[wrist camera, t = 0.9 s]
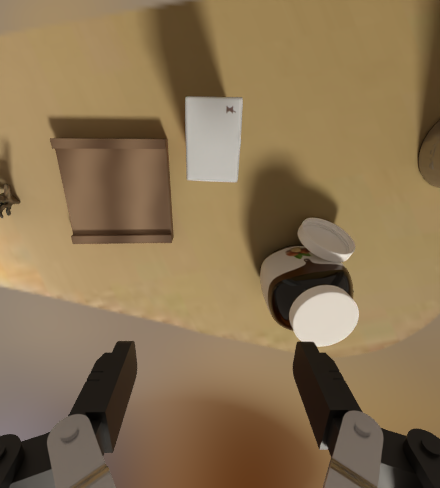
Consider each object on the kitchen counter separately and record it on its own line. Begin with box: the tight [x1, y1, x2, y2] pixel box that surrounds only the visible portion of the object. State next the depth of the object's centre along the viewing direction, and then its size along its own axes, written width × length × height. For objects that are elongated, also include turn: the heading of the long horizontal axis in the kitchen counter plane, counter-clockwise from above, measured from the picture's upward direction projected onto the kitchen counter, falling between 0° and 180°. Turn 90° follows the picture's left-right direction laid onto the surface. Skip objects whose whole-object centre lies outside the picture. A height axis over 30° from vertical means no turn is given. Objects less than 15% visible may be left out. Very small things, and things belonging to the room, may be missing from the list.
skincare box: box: [185, 96, 243, 182], centre depth 25 cm, size 6×4×12 cm
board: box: [50, 138, 173, 244], centre depth 31 cm, size 12×12×2 cm
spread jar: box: [260, 218, 359, 347], centre depth 31 cm, size 12×11×12 cm
